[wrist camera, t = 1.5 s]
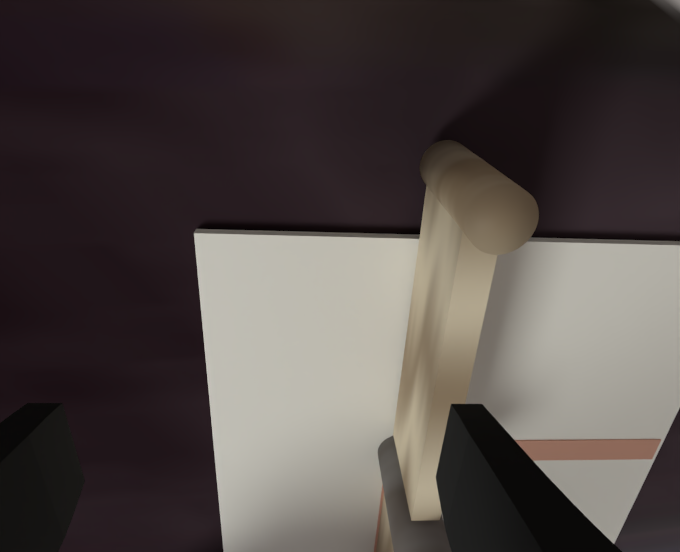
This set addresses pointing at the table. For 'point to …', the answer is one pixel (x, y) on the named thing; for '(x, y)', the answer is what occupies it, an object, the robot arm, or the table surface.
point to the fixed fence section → (403, 513)
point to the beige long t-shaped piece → (450, 302)
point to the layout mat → (386, 365)
